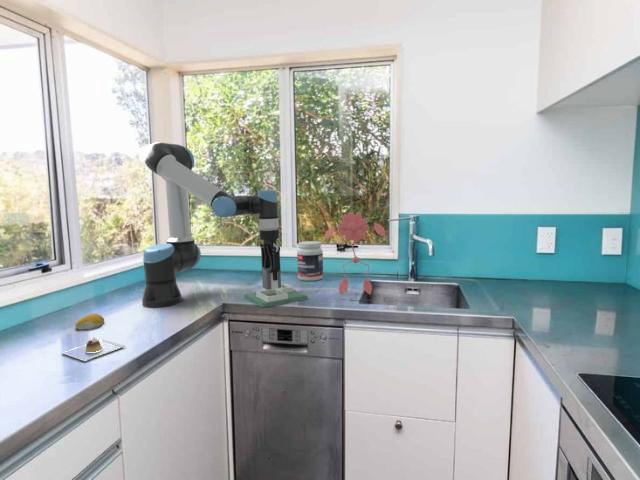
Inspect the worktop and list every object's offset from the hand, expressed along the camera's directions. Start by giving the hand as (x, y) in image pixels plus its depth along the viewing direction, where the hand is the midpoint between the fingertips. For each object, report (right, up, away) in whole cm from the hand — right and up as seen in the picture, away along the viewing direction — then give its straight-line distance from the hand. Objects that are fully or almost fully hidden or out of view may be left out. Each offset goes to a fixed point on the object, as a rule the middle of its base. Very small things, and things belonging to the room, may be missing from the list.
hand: (271, 286), depth 165 cm
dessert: (-45, -14, -48) cm, 67 cm away
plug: (0, 0, 0) cm, 0 cm away
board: (+1, -5, +5) cm, 7 cm away
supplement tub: (+15, -1, +41) cm, 43 cm away
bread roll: (-59, -11, -25) cm, 65 cm away
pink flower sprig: (+34, -5, +5) cm, 34 cm away
